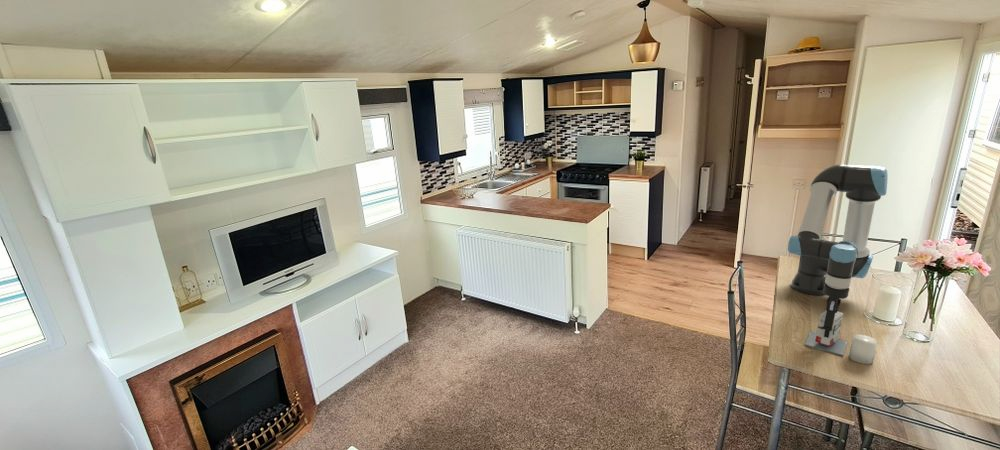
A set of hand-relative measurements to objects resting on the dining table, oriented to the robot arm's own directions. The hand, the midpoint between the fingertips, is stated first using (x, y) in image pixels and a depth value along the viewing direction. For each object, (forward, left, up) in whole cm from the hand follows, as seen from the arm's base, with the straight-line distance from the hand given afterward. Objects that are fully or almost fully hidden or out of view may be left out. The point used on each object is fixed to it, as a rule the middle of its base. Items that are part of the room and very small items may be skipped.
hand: (827, 337), depth 171 cm
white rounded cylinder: (+4, +11, -3) cm, 12 cm away
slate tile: (0, 0, -3) cm, 3 cm away
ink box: (0, 0, -1) cm, 1 cm away
